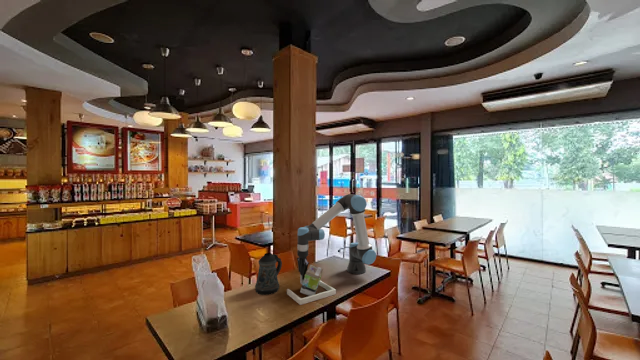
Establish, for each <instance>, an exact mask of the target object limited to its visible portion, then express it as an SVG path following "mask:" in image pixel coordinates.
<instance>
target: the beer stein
mask: <svg viewBox="0 0 640 360" xmlns="http://www.w3.org/2000/svg"><path fill="white" fill-rule="evenodd" d="M276 264H277V265H276ZM282 267H283V262H282V259H281V258H280V257H278V254H275V253H272V252H267V253H264V255H263V256H261V258H259V260H258V272H257V278H256V281H255V282H256V283H255V285H254V289H255V293H256V294H257V295H260V296H271V295H273V294H275V293H278V291H279V289H280V283H279V280H278V275H279V273H280V272H281V269H282Z"/></svg>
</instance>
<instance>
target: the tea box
mask: <svg viewBox="0 0 640 360" xmlns="http://www.w3.org/2000/svg"><path fill="white" fill-rule="evenodd" d="M323 271H324V268H323V267H319V266H317V265H313V264H311V263H310V264H309V265H308V268H307V271H306V274H305V277H304V281H303V284H301V287H300V291H299V293H301V294H303V295H306V296H312V295H315V294H316V292H317V291H318V288H319V286H320V285H319V282H320V281H321V278H322V275H323Z"/></svg>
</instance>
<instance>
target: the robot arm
mask: <svg viewBox="0 0 640 360" xmlns="http://www.w3.org/2000/svg"><path fill="white" fill-rule="evenodd" d="M366 207H367V200H366V198H365V197H364V196H363V195H360V194H352V193H350V194H349V193H348V194H346V195H344V196H342V197H340V198H339V199H338V200H337V201H336V202H335V204H334V205H332V206H331V207H330V208H329V209H328V210H326V211H325V212H324V213H322V214H321V215H320V216H319V217H318V218H316V219H315V220H314V221H312V223H310V224H309V225H305V226H303V227H299V228H297V235H296V236H297V246H296V247H297V251H296V253H297V258H296V261H297V270H298V273H299V277H300V278H299V281H300V285H302V284H303V281H304V277H305V274H306V271H307V269H308V268H309V265H310V264H309V263H310V261H308V259H307V256H309V242H312V241H322V240H324V239H325V235H326V233H325V230H324V229H323V228H324V227H325V226H326V225H327V224H329V223H330V222H331V221H332V220H333V219H334V218H336V217H337V216H338V215H339V214H341V213H344V212H345V211H347V210H349V215H351V216H352V221H353V224H354V229H355V235H356V240H357V241H355V242H351V243H349V245H348V253H349V255H348V257H349V259H348V260H349V261H348V265H347V269H346V270H347V272H348V273H350V274H353V275H354V274H355V275H360V274H365V273H366V271H367V267H366V265H372V264H373V263H375V261H376V260H377V259H376V258H377V253H376V251H375V250H374V249H373V246H372V244H371V243H370V241H369V240H370V239H369V236H368V235H369V234H368V231H367V230H368V229H367V223H366V220H365V212H366Z"/></svg>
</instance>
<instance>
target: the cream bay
mask: <svg viewBox="0 0 640 360" xmlns="http://www.w3.org/2000/svg"><path fill="white" fill-rule="evenodd" d="M318 286H320V287H322V288H323V289H325V290H326V291H323V292H319V293H317V294H316V293H315V295H312V296H309V295H307V296H306V297H300V296H299V295H297V294H296V293H295V292H293V291H292V290H291V289H290V288H287V289H286V295H287V296H289V297H290V298H291V299H293V301H294V302H296V303H298V305H300V306H301V305H305V304H308V303H311V302H314V301H318V300H322V299H325V298H328V297H331V296H334V295H336V294H337V289H335V288H334V287H332V286H331V285H329V284H327V283H326V282H324V281H323V280H320V282H319V285H318Z"/></svg>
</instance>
